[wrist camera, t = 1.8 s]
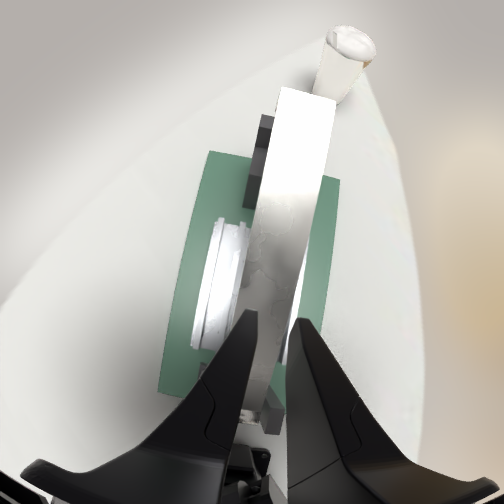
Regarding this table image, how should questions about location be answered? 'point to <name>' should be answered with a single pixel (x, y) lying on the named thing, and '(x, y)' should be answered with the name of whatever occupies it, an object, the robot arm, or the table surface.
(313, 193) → the metal bar
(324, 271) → the board
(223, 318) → the heatsink
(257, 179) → the lug block
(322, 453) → the robot arm
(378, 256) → the table surface
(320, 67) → the milkshake
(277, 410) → the bracket
